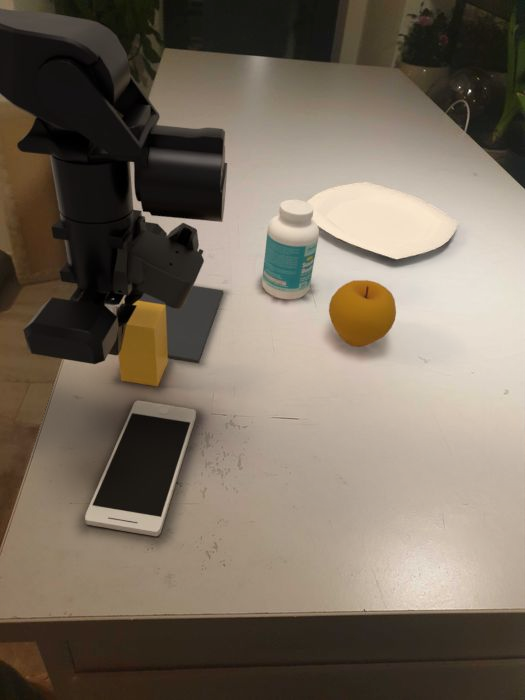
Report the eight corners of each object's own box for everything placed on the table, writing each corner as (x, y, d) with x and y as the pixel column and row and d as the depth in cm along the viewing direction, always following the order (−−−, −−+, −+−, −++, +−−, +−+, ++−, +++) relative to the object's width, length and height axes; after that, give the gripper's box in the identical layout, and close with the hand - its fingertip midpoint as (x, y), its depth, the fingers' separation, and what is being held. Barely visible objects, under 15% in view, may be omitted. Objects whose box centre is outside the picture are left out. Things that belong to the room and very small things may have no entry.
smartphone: (196, 414, 60) (196, 408, 60) (159, 537, 49) (159, 531, 48) (135, 404, 60) (135, 399, 60) (84, 524, 49) (82, 519, 48)
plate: (398, 280, 86) (401, 270, 85) (278, 217, 99) (279, 207, 98) (473, 232, 102) (477, 223, 101) (361, 183, 115) (363, 174, 114)
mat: (107, 348, 67) (106, 345, 67) (145, 280, 80) (145, 278, 79) (198, 363, 67) (198, 360, 67) (223, 293, 79) (223, 290, 79)
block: (121, 380, 63) (114, 322, 57) (133, 356, 67) (127, 298, 61) (157, 386, 63) (154, 328, 57) (167, 362, 67) (165, 304, 61)
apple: (352, 312, 78) (365, 260, 72) (400, 343, 74) (418, 291, 68) (310, 334, 73) (320, 280, 68) (358, 369, 69) (374, 315, 63)
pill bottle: (306, 305, 79) (321, 223, 70) (257, 297, 79) (266, 214, 70) (310, 278, 84) (325, 199, 75) (265, 271, 85) (274, 191, 76)
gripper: (161, 286, 35) (167, 437, 45) (218, 176, 49) (213, 310, 59) (-1, 260, 35) (41, 416, 45) (102, 159, 49) (117, 295, 60)
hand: (114, 352), depth 52 cm, fingers closed
